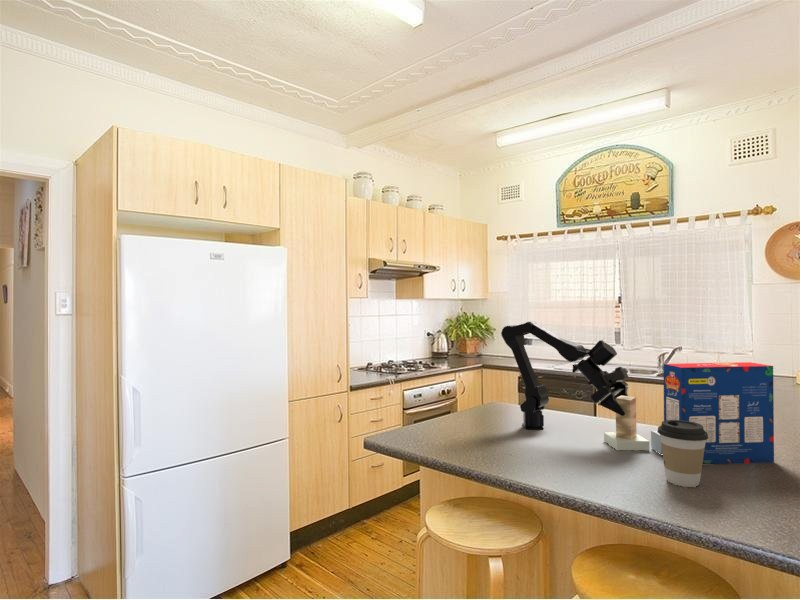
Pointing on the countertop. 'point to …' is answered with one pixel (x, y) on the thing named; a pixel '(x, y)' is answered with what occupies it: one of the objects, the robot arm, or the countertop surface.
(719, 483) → the countertop surface
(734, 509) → the countertop surface
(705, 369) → the pasta box
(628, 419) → the pillar
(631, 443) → the plinth
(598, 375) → the robot arm
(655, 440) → the grey cube
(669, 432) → the coffee cup
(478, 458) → the countertop surface
